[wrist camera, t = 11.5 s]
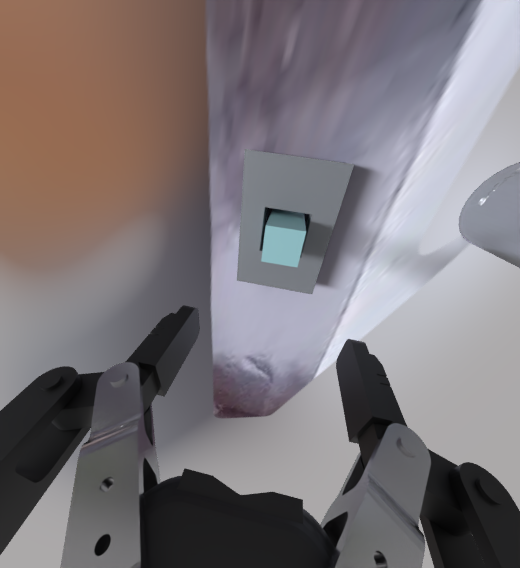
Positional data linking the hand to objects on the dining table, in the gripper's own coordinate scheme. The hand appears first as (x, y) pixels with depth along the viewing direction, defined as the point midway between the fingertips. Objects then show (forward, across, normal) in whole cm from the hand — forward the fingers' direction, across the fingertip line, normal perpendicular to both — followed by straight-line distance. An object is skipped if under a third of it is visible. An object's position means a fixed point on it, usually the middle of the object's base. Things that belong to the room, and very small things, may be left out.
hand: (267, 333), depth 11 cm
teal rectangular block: (+20, 0, 0) cm, 20 cm away
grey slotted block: (+20, 0, 0) cm, 20 cm away
